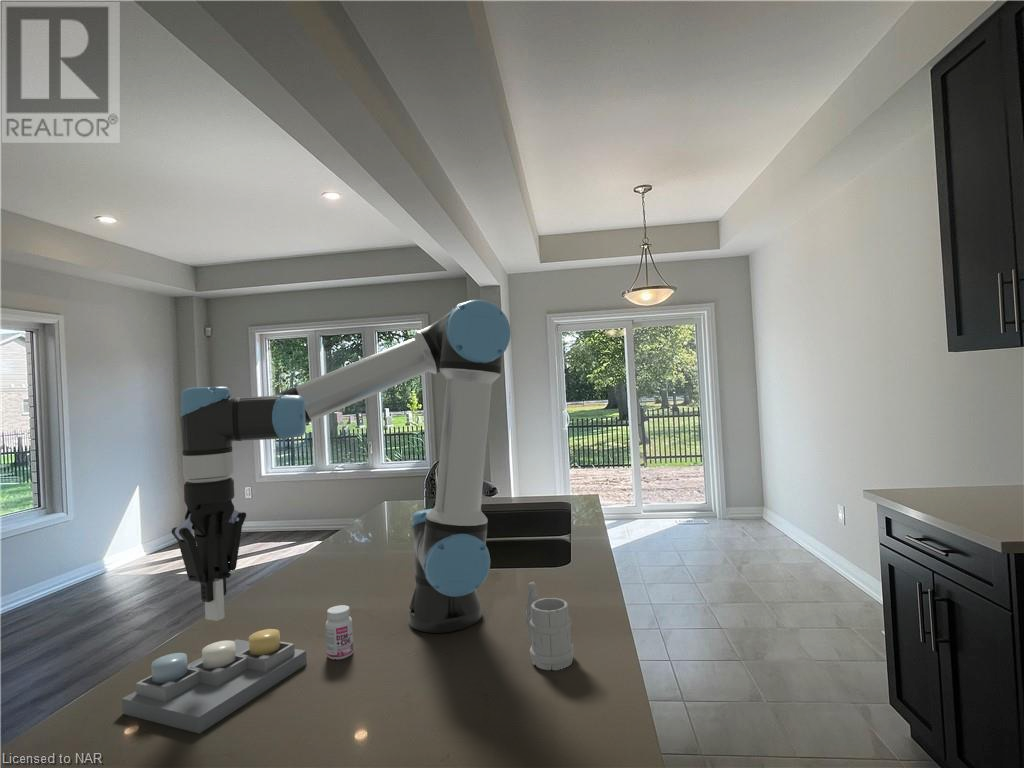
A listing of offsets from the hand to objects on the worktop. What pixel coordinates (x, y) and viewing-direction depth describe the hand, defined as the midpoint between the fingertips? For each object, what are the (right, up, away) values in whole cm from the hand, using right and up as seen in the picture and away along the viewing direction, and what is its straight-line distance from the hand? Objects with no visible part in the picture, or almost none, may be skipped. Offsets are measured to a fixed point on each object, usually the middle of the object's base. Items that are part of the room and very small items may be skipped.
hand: (215, 618), depth 99 cm
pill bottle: (+18, -11, +10) cm, 24 cm away
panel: (+1, -12, 0) cm, 12 cm away
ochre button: (+7, -7, +4) cm, 10 cm away
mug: (+56, -9, +5) cm, 57 cm away
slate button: (-5, -8, -4) cm, 10 cm away
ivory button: (+1, -7, 0) cm, 7 cm away
